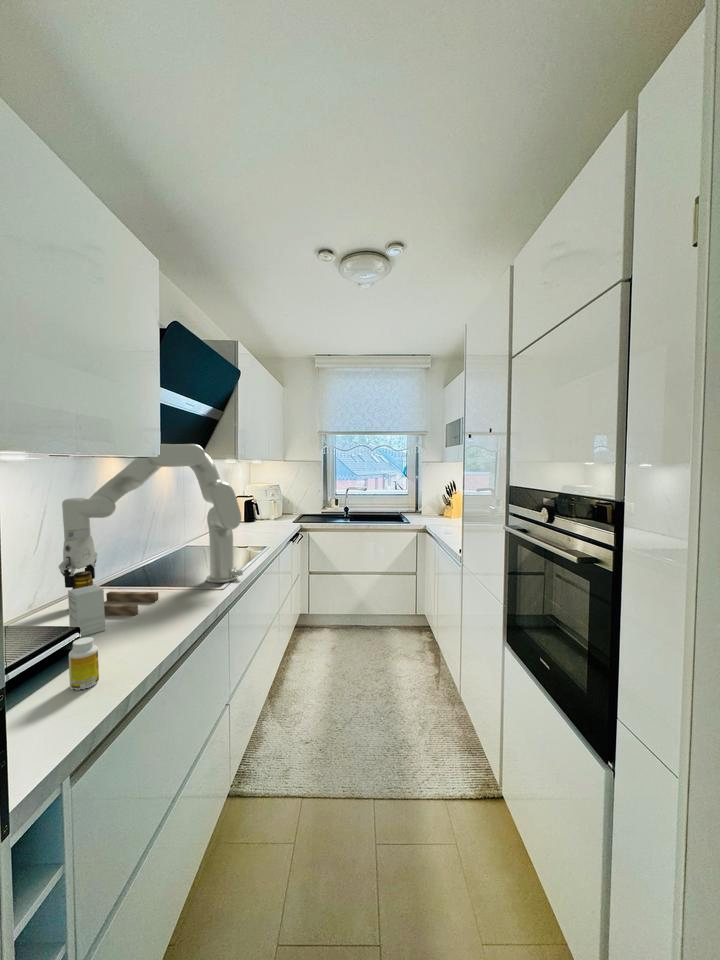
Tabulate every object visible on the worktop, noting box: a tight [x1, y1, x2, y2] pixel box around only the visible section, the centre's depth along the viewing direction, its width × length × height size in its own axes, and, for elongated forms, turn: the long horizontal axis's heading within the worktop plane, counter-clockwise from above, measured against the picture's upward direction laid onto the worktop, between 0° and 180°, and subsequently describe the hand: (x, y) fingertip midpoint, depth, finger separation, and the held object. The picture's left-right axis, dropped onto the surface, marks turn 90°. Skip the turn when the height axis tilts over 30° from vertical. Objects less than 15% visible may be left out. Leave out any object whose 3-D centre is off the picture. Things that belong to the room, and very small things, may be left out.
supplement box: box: [67, 584, 106, 638], centre depth 125 cm, size 7×7×13 cm
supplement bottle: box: [68, 636, 100, 691], centre depth 96 cm, size 6×6×10 cm
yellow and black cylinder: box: [71, 570, 94, 590], centre depth 147 cm, size 7×8×12 cm
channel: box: [104, 591, 159, 617], centre depth 146 cm, size 18×15×3 cm
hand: (80, 582), depth 146 cm, fingers open, 9 cm apart
